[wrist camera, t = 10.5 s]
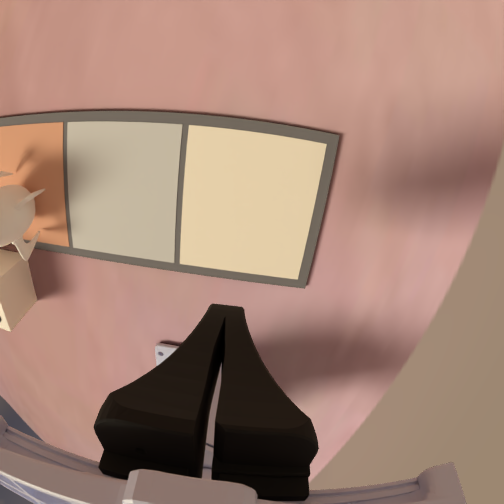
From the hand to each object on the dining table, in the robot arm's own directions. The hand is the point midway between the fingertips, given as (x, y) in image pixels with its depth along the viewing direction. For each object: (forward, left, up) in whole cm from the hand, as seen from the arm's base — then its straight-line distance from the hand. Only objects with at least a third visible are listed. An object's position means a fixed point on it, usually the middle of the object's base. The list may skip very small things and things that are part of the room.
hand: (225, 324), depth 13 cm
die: (-7, +21, -10) cm, 24 cm away
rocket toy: (+1, +17, -9) cm, 19 cm away
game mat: (+2, +8, -9) cm, 13 cm away
